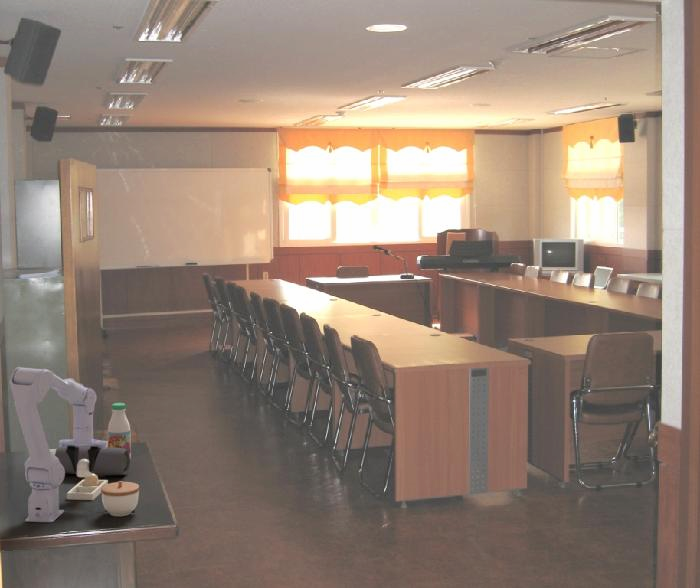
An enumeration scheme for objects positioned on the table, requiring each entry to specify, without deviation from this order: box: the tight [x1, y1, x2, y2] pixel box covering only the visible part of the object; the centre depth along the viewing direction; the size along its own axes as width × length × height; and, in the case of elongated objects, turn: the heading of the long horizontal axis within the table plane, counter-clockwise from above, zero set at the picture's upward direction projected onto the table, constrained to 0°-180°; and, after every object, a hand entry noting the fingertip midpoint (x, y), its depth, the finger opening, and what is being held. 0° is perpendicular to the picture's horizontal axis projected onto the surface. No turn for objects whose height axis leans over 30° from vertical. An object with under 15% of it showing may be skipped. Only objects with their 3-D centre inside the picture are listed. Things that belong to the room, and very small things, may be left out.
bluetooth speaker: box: [54, 446, 131, 477], centre depth 317 cm, size 23×9×10 cm, turn 84°
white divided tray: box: [66, 478, 109, 501], centre depth 299 cm, size 14×8×2 cm, turn 176°
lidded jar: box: [101, 480, 140, 517], centre depth 281 cm, size 11×11×9 cm
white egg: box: [76, 459, 91, 478], centre depth 294 cm, size 4×4×5 cm
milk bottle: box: [107, 402, 132, 460], centre depth 335 cm, size 8×8×20 cm
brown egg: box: [83, 473, 99, 486], centre depth 302 cm, size 4×4×5 cm
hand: (83, 470), depth 295 cm, fingers closed on white egg, 4 cm apart
